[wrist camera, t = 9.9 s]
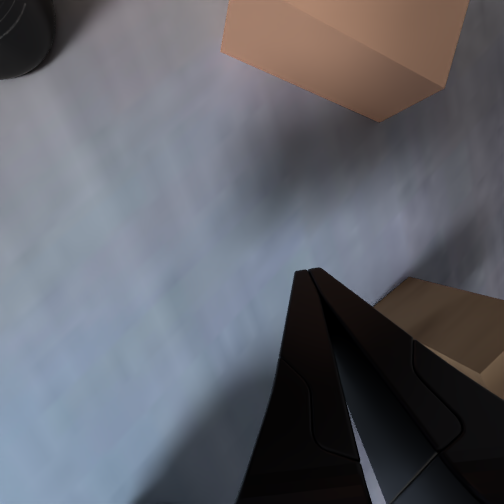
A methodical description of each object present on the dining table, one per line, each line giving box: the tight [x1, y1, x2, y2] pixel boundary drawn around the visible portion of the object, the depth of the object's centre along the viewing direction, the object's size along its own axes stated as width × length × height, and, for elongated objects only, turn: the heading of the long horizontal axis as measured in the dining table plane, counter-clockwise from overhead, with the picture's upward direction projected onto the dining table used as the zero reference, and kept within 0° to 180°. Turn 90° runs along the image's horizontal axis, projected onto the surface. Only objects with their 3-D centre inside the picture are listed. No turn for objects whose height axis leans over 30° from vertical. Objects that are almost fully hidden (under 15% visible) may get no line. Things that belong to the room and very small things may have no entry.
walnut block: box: [374, 277, 504, 400], centre depth 16 cm, size 5×5×8 cm
